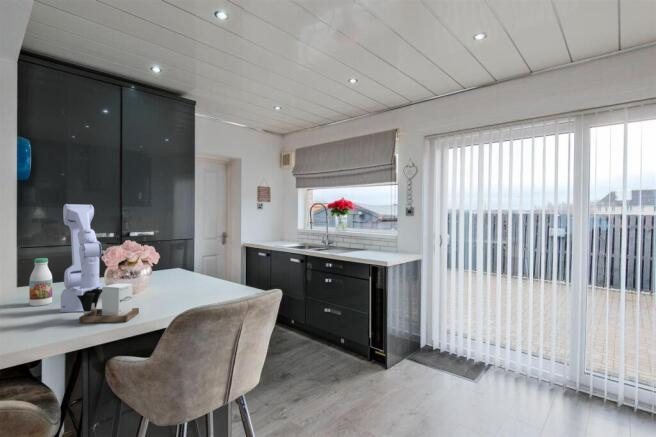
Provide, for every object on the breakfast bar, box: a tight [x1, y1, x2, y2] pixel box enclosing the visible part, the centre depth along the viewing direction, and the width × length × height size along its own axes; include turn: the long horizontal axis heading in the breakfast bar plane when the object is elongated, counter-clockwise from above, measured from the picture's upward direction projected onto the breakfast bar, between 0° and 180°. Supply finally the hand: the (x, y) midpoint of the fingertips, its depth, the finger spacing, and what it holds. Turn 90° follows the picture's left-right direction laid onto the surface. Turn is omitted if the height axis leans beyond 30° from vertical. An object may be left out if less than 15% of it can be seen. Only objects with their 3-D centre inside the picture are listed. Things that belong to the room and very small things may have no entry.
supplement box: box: [101, 282, 134, 316], centre depth 131 cm, size 7×7×13 cm
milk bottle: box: [28, 257, 53, 307], centre depth 149 cm, size 8×8×20 cm
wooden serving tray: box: [78, 302, 140, 324], centre depth 131 cm, size 17×11×6 cm, turn 98°
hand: (89, 309), depth 130 cm, fingers closed on wooden serving tray, 3 cm apart
